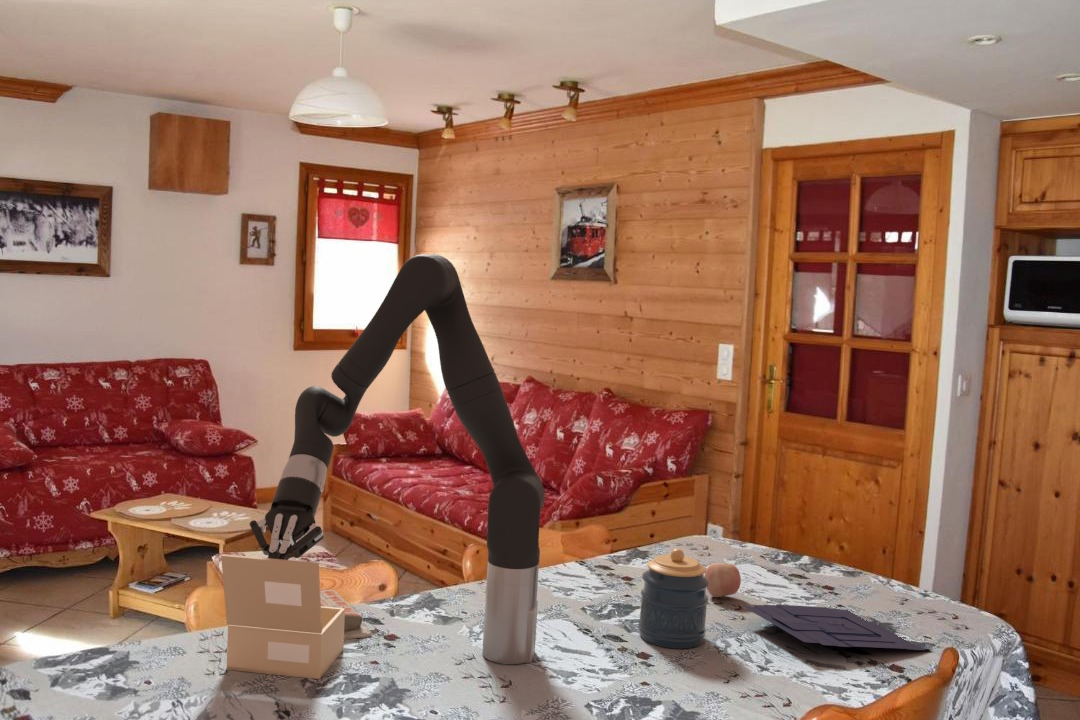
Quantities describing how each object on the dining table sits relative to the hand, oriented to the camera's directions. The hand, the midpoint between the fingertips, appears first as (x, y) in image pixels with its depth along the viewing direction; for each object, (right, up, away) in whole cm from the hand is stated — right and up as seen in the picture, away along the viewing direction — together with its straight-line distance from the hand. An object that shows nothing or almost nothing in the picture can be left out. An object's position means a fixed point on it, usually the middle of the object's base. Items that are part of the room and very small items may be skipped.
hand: (271, 577), depth 159 cm
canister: (+69, -19, +32) cm, 79 cm away
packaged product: (+3, -16, +28) cm, 33 cm away
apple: (+84, -18, +59) cm, 104 cm away
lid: (0, -3, +1) cm, 3 cm away
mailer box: (0, -16, +10) cm, 19 cm away
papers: (+102, -21, +38) cm, 111 cm away
